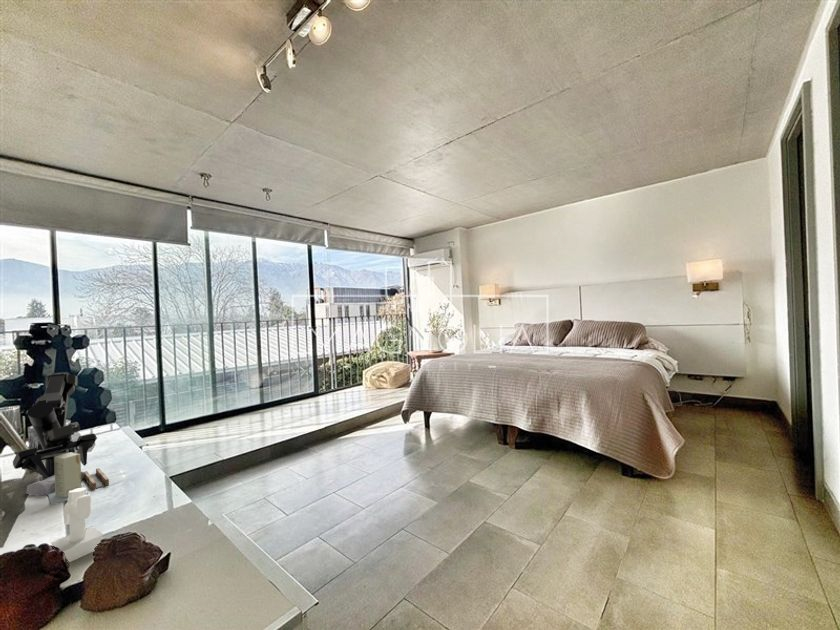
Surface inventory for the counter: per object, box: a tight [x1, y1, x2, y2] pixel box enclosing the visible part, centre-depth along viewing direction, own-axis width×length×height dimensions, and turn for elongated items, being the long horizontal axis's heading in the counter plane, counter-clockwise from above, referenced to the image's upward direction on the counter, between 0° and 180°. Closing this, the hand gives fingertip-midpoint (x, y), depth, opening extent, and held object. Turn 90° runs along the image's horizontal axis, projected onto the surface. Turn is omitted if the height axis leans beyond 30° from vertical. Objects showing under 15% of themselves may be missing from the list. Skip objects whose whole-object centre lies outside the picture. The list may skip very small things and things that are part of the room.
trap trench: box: [83, 467, 110, 490], centre depth 121 cm, size 16×4×2 cm, turn 51°
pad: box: [47, 484, 89, 506], centre depth 112 cm, size 10×8×1 cm
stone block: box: [26, 470, 85, 496], centre depth 118 cm, size 12×5×10 cm
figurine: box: [50, 487, 105, 563], centre depth 82 cm, size 7×9×15 cm
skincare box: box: [54, 452, 82, 497], centre depth 112 cm, size 6×4×12 cm
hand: (67, 470), depth 112 cm, fingers open, 9 cm apart
